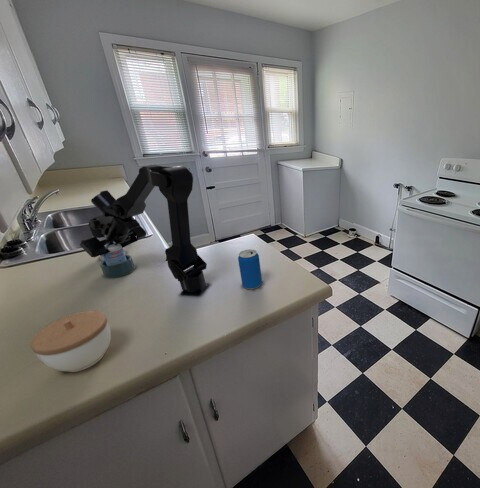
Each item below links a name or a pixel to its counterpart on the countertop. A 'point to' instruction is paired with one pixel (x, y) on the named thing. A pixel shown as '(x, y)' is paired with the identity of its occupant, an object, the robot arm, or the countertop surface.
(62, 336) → the lidded bowl
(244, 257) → the beverage can
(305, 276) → the countertop surface
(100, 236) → the glass holder
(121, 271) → the bottle holder
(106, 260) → the pill bottle
